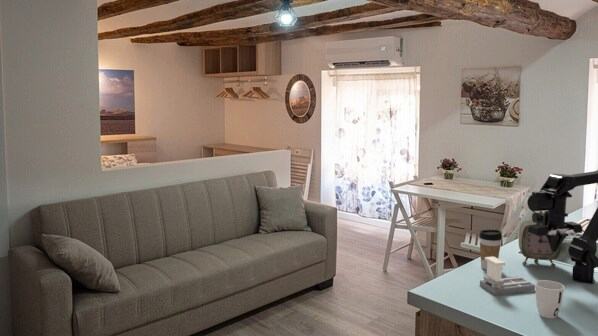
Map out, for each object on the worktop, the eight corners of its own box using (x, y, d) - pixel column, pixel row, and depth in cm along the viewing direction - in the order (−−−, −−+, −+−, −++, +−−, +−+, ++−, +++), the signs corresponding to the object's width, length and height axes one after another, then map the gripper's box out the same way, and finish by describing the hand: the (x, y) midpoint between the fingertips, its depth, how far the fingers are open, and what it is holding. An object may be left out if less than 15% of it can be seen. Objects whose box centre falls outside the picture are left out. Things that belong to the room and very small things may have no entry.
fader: (492, 278, 189) (494, 256, 187) (504, 284, 182) (505, 262, 181) (483, 279, 188) (484, 257, 186) (494, 285, 181) (495, 263, 180)
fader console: (518, 281, 193) (518, 274, 192) (534, 290, 184) (535, 283, 184) (479, 285, 189) (480, 278, 189) (494, 295, 180) (495, 287, 180)
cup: (560, 322, 159) (562, 291, 157) (531, 316, 163) (533, 286, 162) (563, 313, 166) (565, 283, 164) (535, 307, 170) (537, 278, 168)
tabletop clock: (520, 266, 209) (523, 205, 205) (516, 259, 217) (519, 200, 214) (559, 269, 205) (564, 207, 202) (553, 262, 214) (558, 202, 210)
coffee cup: (501, 272, 203) (504, 234, 201) (479, 270, 204) (480, 233, 202) (498, 264, 211) (500, 228, 209) (476, 263, 213) (478, 227, 210)
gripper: (562, 203, 197) (559, 243, 199) (519, 206, 192) (516, 247, 195) (585, 210, 186) (581, 252, 188) (540, 213, 182) (537, 256, 184)
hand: (553, 251), depth 189 cm, fingers closed
